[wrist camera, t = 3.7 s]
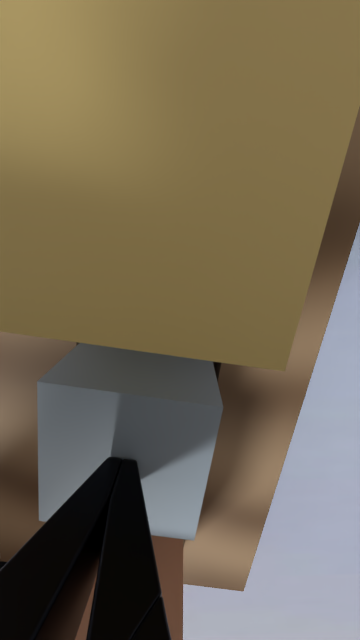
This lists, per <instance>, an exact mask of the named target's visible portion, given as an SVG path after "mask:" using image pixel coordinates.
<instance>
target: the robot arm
mask: <svg viewBox="0 0 360 640" xmlns="http://www.w3.org/2000/svg"><path fill="white" fill-rule="evenodd" d="M96 575H97V577H96ZM95 578H96V583H95V589H94V595H93V601H92V607H91V613H90V619H89V625H88V631H87V637H86V640H172V639H171V634H170V630H169V625H168V621H167V615H166V610H165V605H164V600H163V597H162V590H161V585H160V580H159V574H158V569H157V564H156V558H155V553H154V548H153V542H152V537H151V532H150V527H149V521H148V516H147V511H146V505H145V500H144V495H143V490H142V484H141V479H140V474H139V468H138V463H137V461H136V460H133V459H123V461H122V459H121V458H118V457H108V458H107V459H106V460H105V461H104V462H103V463H102V464H101V465H100V466H99V467H98V468H97V469H96V470H95V471H94V472H93V473H92V474H91V475H90V477H89V478H88V479H87V480H86V481H85V482H84V483H83V484H82V485H81V486H80V487H79V488H78V489H77V490H76V491H75V492H74V493H73V494H72V495H71V496H70V497H69V498H68V499H67V501H66V502H65V503H64V504H63V505H62V506H61V507H60V508H59V509H58V510H57V511H56V512H55V513H54V514H53V515H52V516H51V517H50V518H49V519H48V520H47V521H46V522H45V523H44V525H43V526H42V527H41V528H40V529H39V530H38V531H37V532H36V533H35V534H34V535H33V536H32V537H31V538H30V539H29V540H28V541H27V542H26V543H25V544H24V545H23V546H22V547H21V549H20V550H19V551H18V552H17V553H16V554H15V555H14V556H13V557H12V558H11V559H10V560H9V561H8V562H4V561H0V640H75V638H76V635H77V632H78V629H79V626H80V623H81V620H82V617H83V614H84V611H85V608H86V605H87V602H88V599H89V596H90V593H91V590H92V587H93V584H94V581H95Z"/></svg>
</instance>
